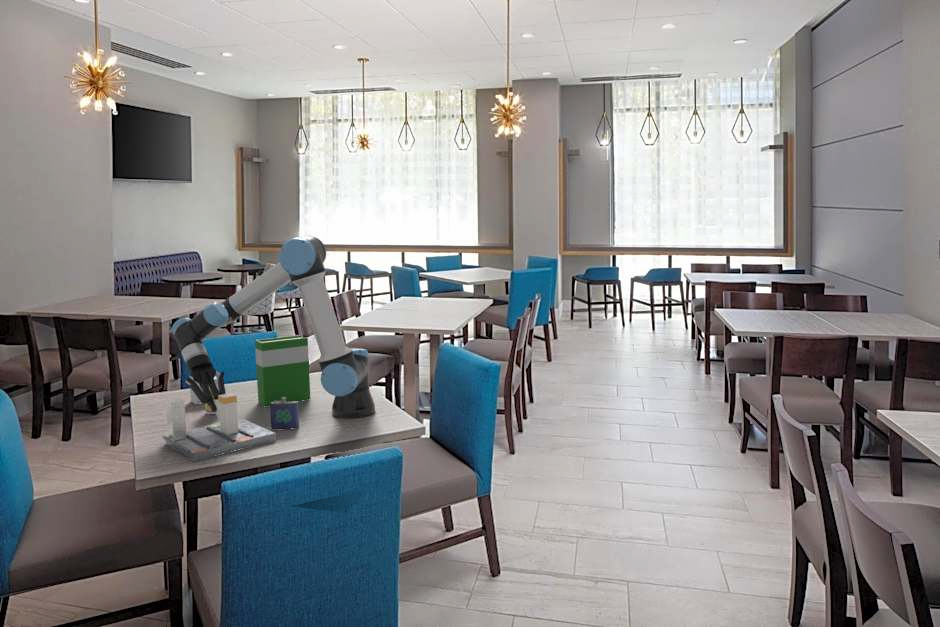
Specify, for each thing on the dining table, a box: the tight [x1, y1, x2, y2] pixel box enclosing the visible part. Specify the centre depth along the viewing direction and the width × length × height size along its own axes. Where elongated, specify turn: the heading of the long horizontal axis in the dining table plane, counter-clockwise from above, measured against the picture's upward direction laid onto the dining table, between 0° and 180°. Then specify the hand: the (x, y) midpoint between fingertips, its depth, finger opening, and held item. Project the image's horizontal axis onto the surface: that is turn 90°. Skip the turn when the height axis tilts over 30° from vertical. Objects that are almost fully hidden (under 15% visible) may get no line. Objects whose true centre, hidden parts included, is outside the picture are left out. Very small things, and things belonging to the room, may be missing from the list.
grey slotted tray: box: [162, 397, 277, 462], centre depth 229 cm, size 23×27×15 cm
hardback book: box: [254, 334, 311, 408], centre depth 275 cm, size 18×7×24 cm, turn 124°
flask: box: [269, 397, 300, 430], centre depth 243 cm, size 9×3×11 cm, turn 95°
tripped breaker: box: [218, 392, 239, 435], centre depth 231 cm, size 4×4×12 cm
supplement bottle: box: [204, 376, 219, 415], centre depth 262 cm, size 7×7×13 cm
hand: (222, 418), depth 235 cm, fingers closed
